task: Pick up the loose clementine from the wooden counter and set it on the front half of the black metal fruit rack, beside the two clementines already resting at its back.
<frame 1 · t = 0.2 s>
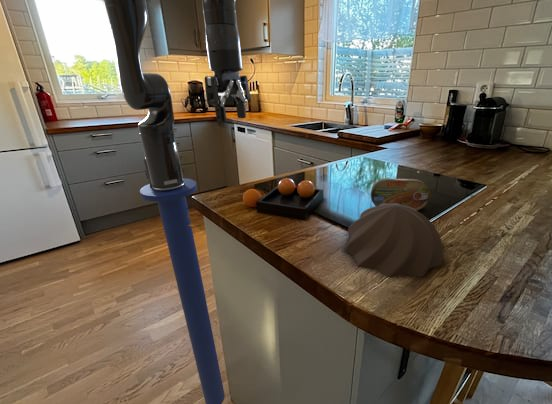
hand: (232, 120, 75), 23 cm above the worktop, tool pointing down, fingers open, 8 cm apart
tin: (397, 209, 81), on the worktop
fruit rack: (291, 205, 83), on the worktop
clementine: (253, 206, 83), on the worktop
decorative dome: (391, 249, 62), on the worktop
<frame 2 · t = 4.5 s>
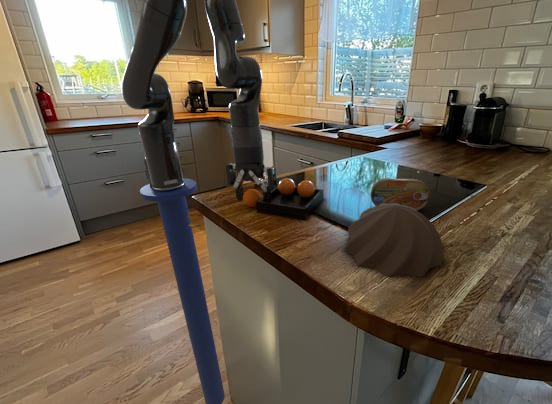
hand: (253, 201, 82), 1 cm above the worktop, tool pointing down, fingers open, 8 cm apart
nothing on the worktop moved.
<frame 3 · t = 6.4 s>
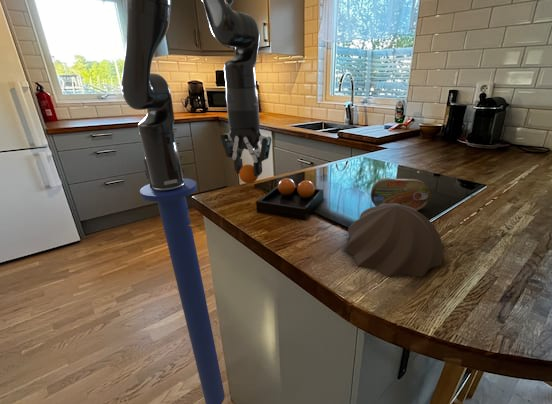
hand: (248, 173, 79), 9 cm above the worktop, tool pointing down, fingers closed on clementine, 5 cm apart
clementine: (244, 180, 80), point 8 cm above the worktop, tilted 39°, touching gripper
everything else where it was.
when the fingers open (4 cm above the worktop, at t = 10.5 s): clementine stays where it is, resting on fruit rack.
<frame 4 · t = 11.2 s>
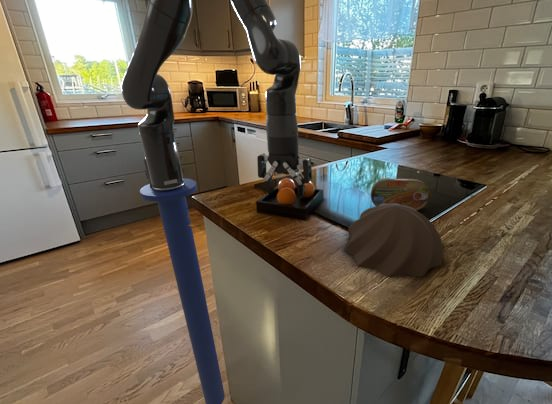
hand: (285, 195, 78), 5 cm above the worktop, tool pointing down, fingers open, 8 cm apart
clementine: (281, 202, 80), point 2 cm above the worktop, tilted 42°, touching fruit rack
everything else where it was.
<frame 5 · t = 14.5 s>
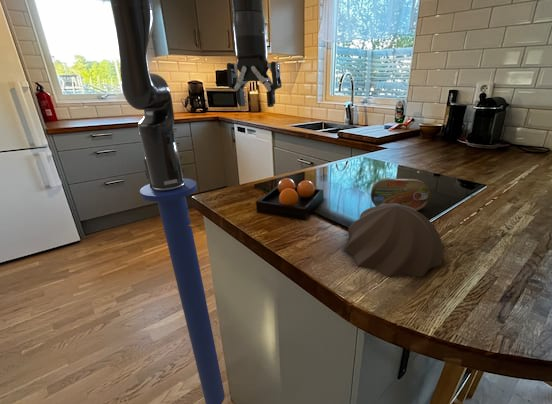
hand: (256, 106, 77), 26 cm above the worktop, tool pointing down, fingers open, 8 cm apart
clementine: (281, 200, 79), point 3 cm above the worktop, tilted 61°, touching fruit rack
everything else where it was.
at the end: clementine inside the target area on the fruit rack (2.2 cm from its centre), point 2.8 cm above the fruit rack's base; the gripper is holding nothing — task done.
